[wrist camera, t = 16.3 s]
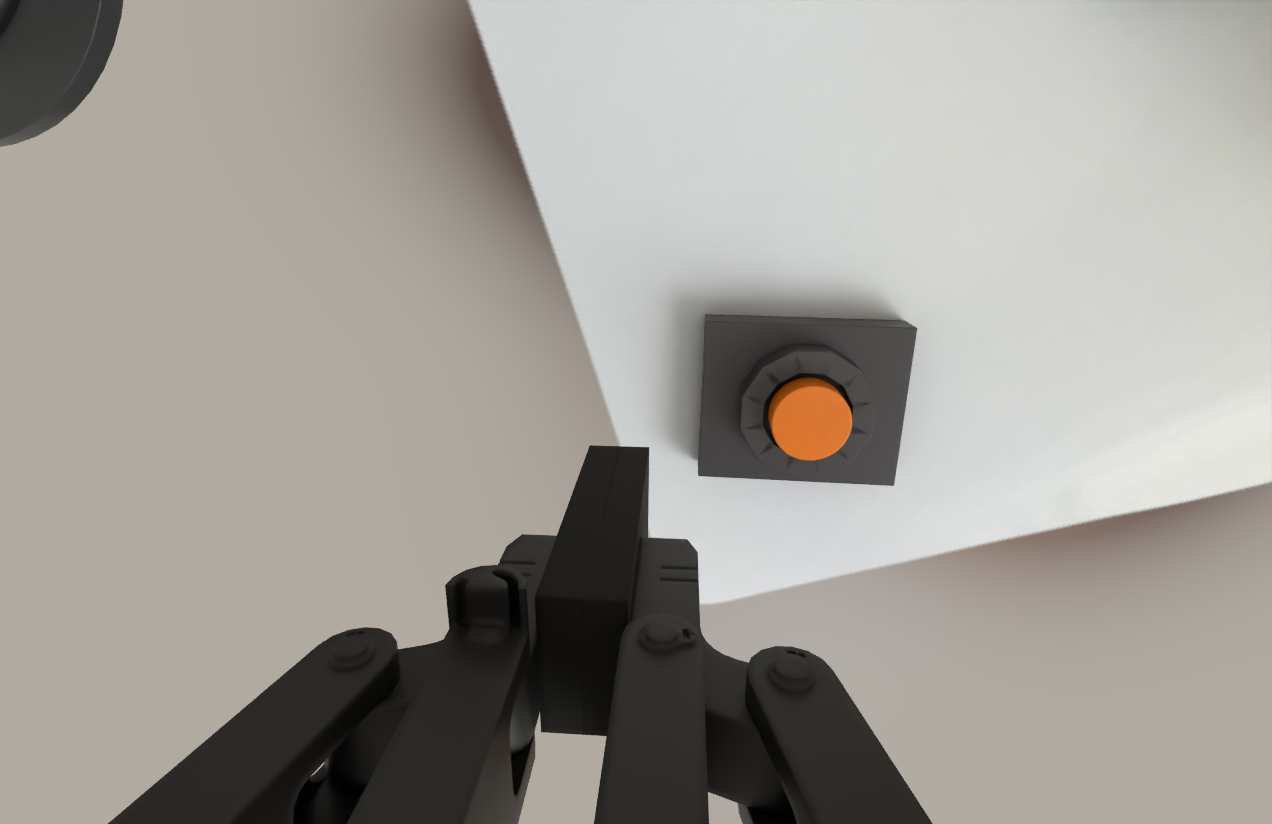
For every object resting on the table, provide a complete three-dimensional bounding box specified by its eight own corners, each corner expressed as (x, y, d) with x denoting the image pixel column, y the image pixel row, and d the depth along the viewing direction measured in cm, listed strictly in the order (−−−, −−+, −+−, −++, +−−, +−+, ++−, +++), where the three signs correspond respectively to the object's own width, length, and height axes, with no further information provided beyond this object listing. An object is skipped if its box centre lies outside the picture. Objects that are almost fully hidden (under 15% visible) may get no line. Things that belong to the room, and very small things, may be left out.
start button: (765, 447, 36) (768, 459, 34) (771, 375, 35) (774, 384, 33) (840, 450, 36) (847, 462, 34) (849, 378, 35) (857, 387, 33)
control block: (698, 462, 41) (698, 489, 37) (705, 314, 38) (706, 327, 34) (883, 471, 40) (903, 499, 36) (905, 320, 37) (928, 334, 33)
